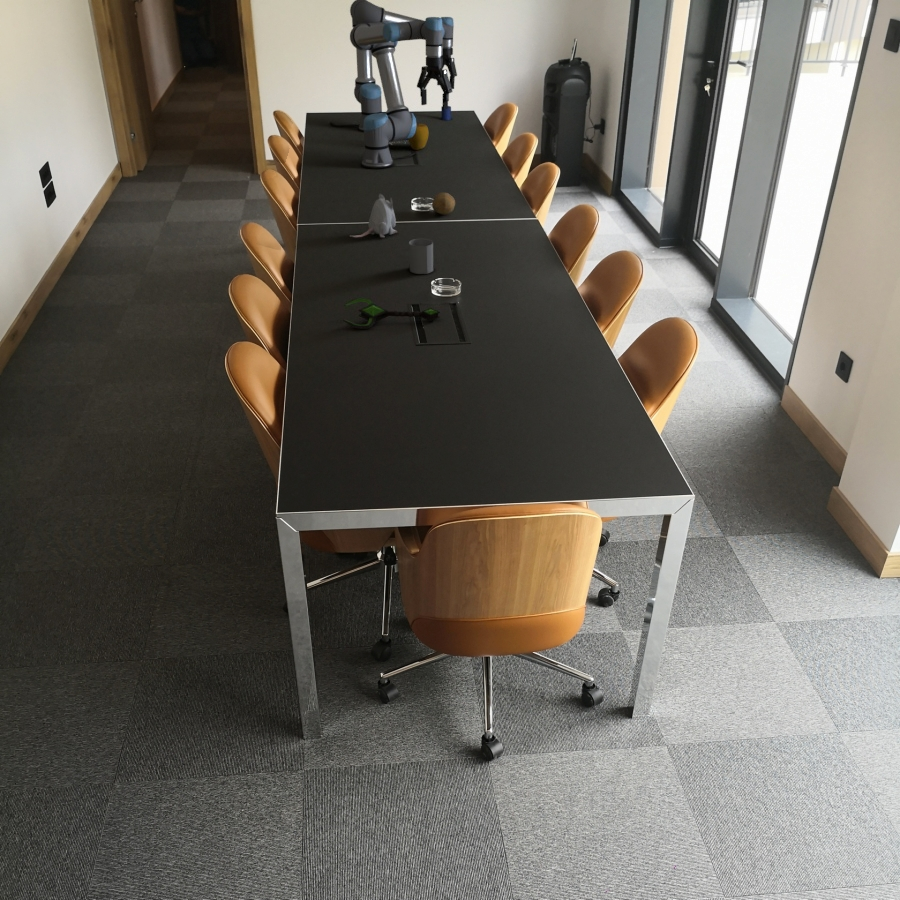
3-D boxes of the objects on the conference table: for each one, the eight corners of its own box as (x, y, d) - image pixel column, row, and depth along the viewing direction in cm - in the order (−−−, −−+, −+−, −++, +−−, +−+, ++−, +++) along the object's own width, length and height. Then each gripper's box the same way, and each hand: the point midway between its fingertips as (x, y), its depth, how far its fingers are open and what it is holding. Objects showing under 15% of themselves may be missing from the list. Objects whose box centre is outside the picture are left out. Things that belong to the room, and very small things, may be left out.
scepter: (439, 293, 272) (343, 290, 270) (440, 323, 265) (342, 321, 263) (438, 306, 277) (344, 304, 275) (439, 336, 270) (342, 334, 268)
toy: (402, 233, 342) (401, 194, 333) (358, 248, 327) (355, 208, 319) (387, 227, 347) (385, 190, 339) (342, 242, 332) (339, 203, 324)
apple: (428, 151, 450) (427, 125, 443) (407, 151, 450) (406, 125, 443) (429, 146, 459) (428, 121, 452) (408, 146, 459) (408, 120, 452)
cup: (409, 265, 311) (408, 238, 306) (432, 265, 312) (431, 238, 307) (410, 274, 304) (409, 246, 299) (433, 273, 305) (433, 246, 299)
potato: (453, 208, 369) (453, 189, 365) (456, 218, 357) (456, 199, 353) (431, 208, 368) (430, 189, 364) (432, 218, 356) (432, 199, 352)
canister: (451, 118, 518) (451, 106, 514) (450, 120, 513) (450, 108, 509) (442, 118, 519) (442, 105, 515) (440, 120, 514) (440, 107, 510)
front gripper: (460, 58, 379) (460, 109, 390) (420, 52, 393) (421, 101, 405) (448, 60, 374) (448, 112, 386) (408, 54, 389) (409, 104, 400)
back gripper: (463, 49, 488) (462, 90, 499) (440, 44, 505) (439, 83, 517) (452, 50, 484) (451, 91, 495) (429, 44, 502) (429, 83, 513)
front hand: (434, 106), depth 395 cm, fingers open, 13 cm apart
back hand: (445, 87), depth 506 cm, fingers open, 13 cm apart
